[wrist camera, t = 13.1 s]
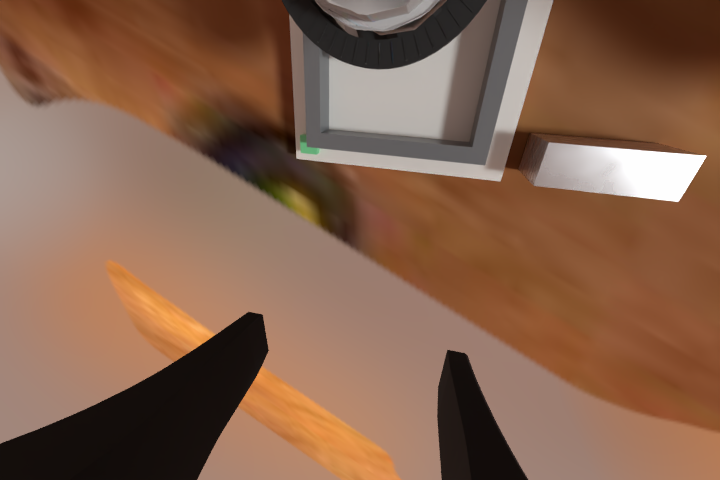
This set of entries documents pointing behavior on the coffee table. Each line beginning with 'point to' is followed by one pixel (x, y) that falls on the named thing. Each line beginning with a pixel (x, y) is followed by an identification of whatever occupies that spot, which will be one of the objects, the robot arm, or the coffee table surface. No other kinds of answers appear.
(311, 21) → the push button
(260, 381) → the coffee table surface
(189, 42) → the coffee table surface
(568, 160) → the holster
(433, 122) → the port dock
